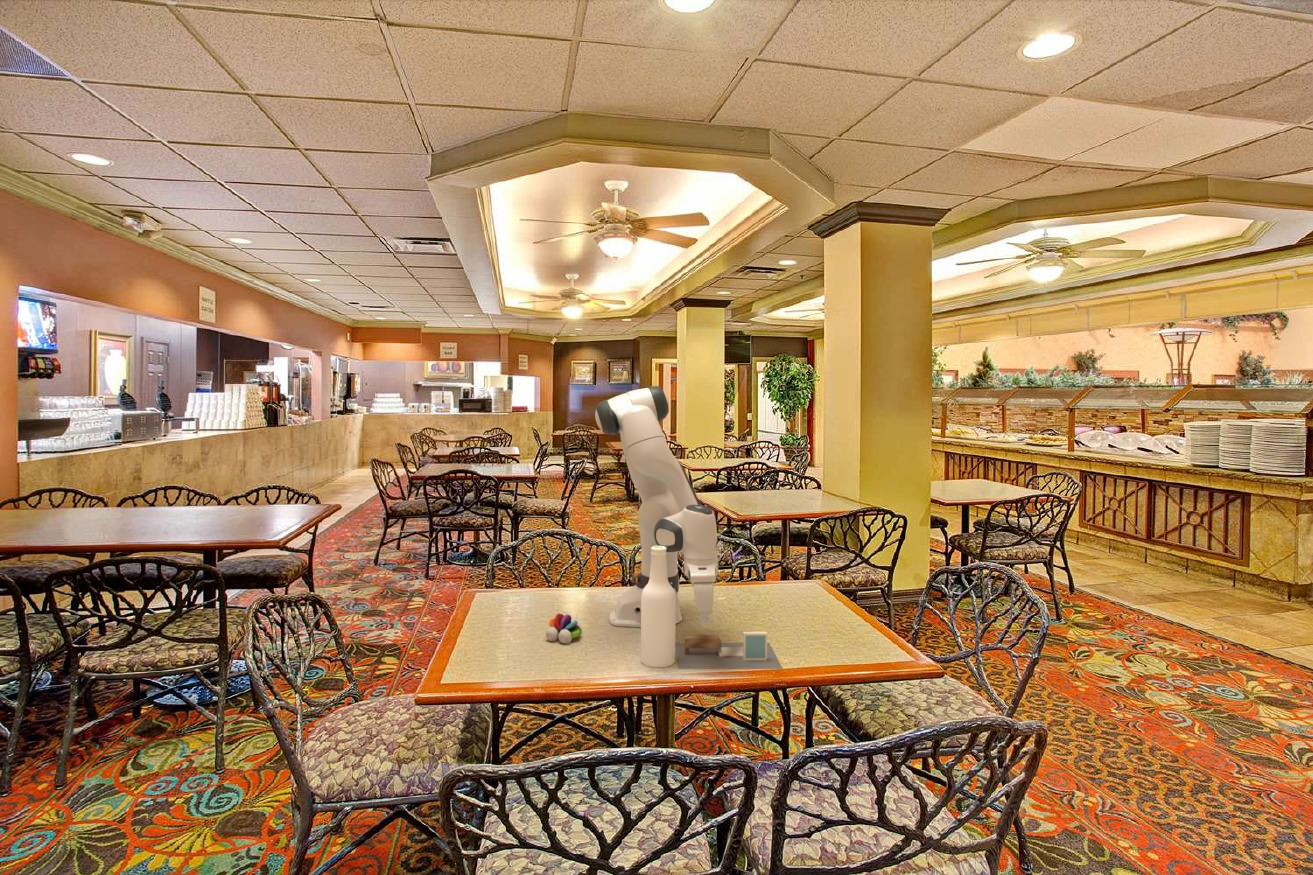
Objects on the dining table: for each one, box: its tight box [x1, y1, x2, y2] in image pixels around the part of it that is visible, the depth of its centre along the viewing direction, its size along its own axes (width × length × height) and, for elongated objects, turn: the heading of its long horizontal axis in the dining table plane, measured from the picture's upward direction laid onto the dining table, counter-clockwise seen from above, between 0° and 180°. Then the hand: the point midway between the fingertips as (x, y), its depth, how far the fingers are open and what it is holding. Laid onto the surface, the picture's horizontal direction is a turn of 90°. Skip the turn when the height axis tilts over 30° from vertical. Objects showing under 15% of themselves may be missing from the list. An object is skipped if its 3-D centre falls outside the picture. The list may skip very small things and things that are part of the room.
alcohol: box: [640, 546, 677, 668], centre depth 167 cm, size 9×9×30 cm
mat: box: [675, 642, 783, 670], centre depth 172 cm, size 26×18×1 cm
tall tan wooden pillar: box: [684, 634, 743, 658], centre depth 173 cm, size 16×6×4 cm, turn 91°
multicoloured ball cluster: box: [545, 613, 583, 645], centre depth 185 cm, size 8×10×7 cm
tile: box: [742, 631, 768, 660], centre depth 169 cm, size 6×2×7 cm, turn 91°
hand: (703, 619), depth 172 cm, fingers open, 8 cm apart
